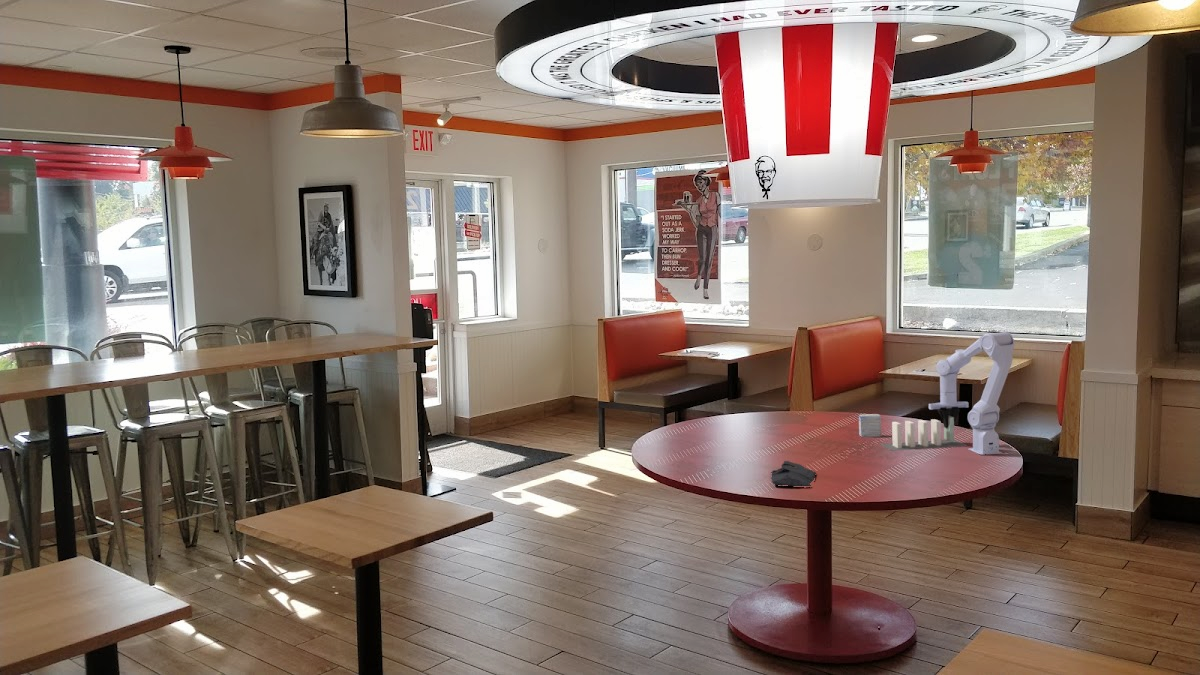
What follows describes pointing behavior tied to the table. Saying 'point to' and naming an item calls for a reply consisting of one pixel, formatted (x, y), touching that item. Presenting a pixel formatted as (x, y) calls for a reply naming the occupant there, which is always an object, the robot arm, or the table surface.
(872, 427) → the medicine box
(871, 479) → the table surface
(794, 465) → the dark slate chunk
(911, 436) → the domino
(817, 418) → the table surface
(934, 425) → the domino
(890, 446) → the charcoal mat
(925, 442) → the domino
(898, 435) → the domino
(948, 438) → the domino
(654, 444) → the table surface
